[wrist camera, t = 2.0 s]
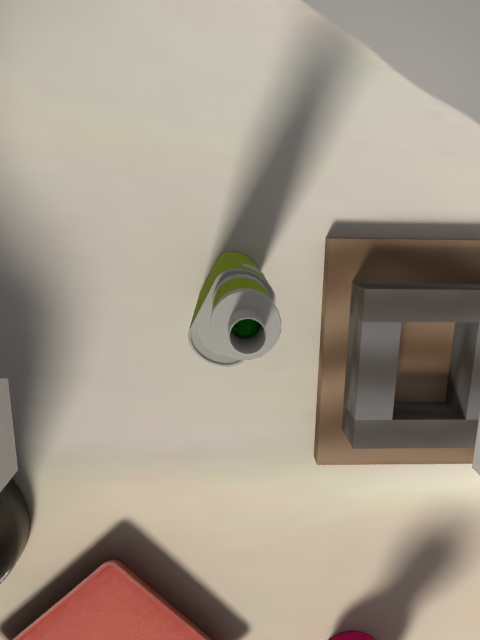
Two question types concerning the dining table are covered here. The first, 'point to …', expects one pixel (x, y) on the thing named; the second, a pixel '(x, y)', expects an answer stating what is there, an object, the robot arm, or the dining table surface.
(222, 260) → the vape
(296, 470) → the dining table surface
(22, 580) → the dining table surface
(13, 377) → the dining table surface
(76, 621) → the plant saucer
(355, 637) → the pepper mill
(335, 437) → the charging dock
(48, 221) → the dining table surface
